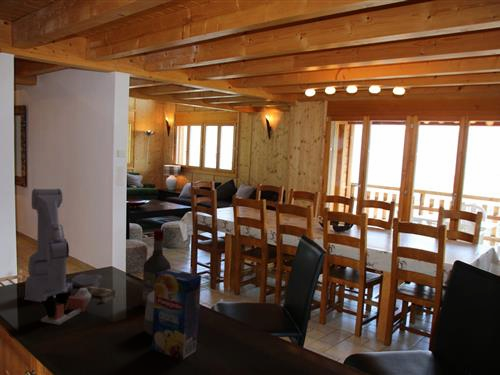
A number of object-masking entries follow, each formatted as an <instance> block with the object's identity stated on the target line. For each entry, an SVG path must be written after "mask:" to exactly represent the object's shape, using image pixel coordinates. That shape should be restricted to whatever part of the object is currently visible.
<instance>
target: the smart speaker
mask: <svg viewBox="0 0 500 375" xmlns="http://www.w3.org/2000/svg"><path fill="white" fill-rule="evenodd" d="M154 293H155V291H152V292H151V293H150V294H149V295H148V297H147V304H146V308H145V313H144V322H143V325H144V327H143V328H144V330H145V333H146V334H147V335H149V336H150V337H152V335H153V314H154Z"/></svg>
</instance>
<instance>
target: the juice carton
mask: <svg viewBox="0 0 500 375" xmlns="http://www.w3.org/2000/svg"><path fill="white" fill-rule="evenodd" d="M201 286H202V275H200V274H195V273H191V272H187V271H182V270H180V269H179V270H178V269H175V268H171V269H168V270H165V271H162V272H159V273H156V274H155V293H154V314H153V335H152V336H151V337H152V339H151V350H154V351H156V352H159V353H162V354H164V355H166V356H167V355H168V356H170V357H173V358H176V359H179V360H181V361H183V360H185V359H186V358H188V357H189V356H191V355H193V354H194V353H195V352H197V351H198V340H199V339H198V338H199V320H200V319H199V317H200V302H201Z"/></svg>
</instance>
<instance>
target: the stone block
mask: <svg viewBox="0 0 500 375" xmlns="http://www.w3.org/2000/svg"><path fill="white" fill-rule="evenodd" d="M70 280H71V281H70V283H72V287H77V288H85V287H87V286H92V287H98V288H99V287H100V285H102V284H103V282H104V277H103V276H102V275H101V274H98V273H97V274H90V275H88V274H85V273H80V274H79V275H75V276H74V277H73V278H72V279H70Z"/></svg>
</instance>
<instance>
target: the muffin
mask: <svg viewBox="0 0 500 375" xmlns="http://www.w3.org/2000/svg"><path fill="white" fill-rule="evenodd" d="M73 297H78V298H84V299H85V307H87V306H88V304H89V302H90V301H91V299H92V295H91V294H90V293H89V292H88V289H87V288H81V287H79V289H78V290H77V292H76V293H75V294H74V296H73Z"/></svg>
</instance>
